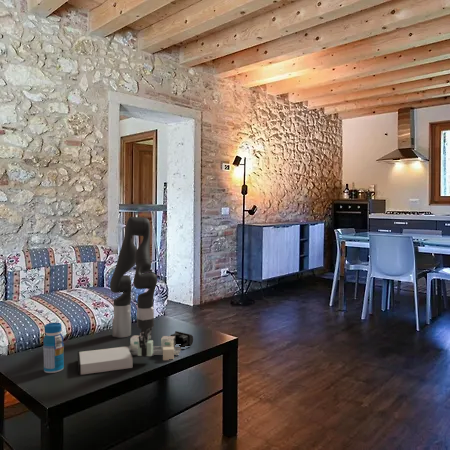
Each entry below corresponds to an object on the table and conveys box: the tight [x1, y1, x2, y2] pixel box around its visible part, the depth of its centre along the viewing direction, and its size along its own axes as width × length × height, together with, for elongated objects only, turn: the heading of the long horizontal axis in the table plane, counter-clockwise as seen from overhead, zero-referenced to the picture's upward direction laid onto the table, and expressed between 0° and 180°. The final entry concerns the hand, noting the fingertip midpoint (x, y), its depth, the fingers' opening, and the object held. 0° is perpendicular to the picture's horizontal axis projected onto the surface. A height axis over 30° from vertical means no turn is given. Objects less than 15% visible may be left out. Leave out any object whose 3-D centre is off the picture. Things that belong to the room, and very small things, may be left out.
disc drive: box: [77, 346, 134, 376], centre depth 189 cm, size 18×22×5 cm
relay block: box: [162, 347, 175, 361], centre depth 196 cm, size 5×4×5 cm
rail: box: [128, 334, 182, 356], centre depth 203 cm, size 26×7×8 cm, turn 86°
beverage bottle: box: [42, 322, 65, 374], centre depth 182 cm, size 8×8×20 cm
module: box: [137, 339, 154, 357], centre depth 190 cm, size 6×4×6 cm
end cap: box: [169, 331, 194, 347], centre depth 213 cm, size 10×7×7 cm
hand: (145, 353), depth 190 cm, fingers closed on module, 4 cm apart
